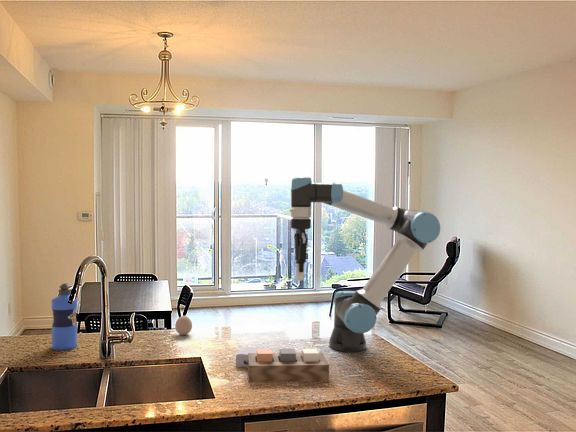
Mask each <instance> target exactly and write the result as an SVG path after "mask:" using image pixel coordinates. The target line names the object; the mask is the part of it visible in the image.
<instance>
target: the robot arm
mask: <svg viewBox="0 0 576 432" xmlns="http://www.w3.org/2000/svg"><path fill="white" fill-rule="evenodd" d="M290 191H291V193H290V197H291V199H290V209H289V212H290V213H291V214H290V217H291V219H290V228H291V229H293V230H295V233H294V236H293V237H294V254H295V255H294V256H295V258H294V259H295V264H296V276H295V277H296V281H299V282H300V281H305V263H306V262H307V249H308V241H309V239H308V233H306V230H309V229H312V225H311V224H312V220H311V219H310V218H311V217H312V203H323V204H324V205H328V206H331V207H334V208H337V209H340V210H342V211H346V212H348V213H351V214H353V215H356V216H359V217H361V218H365V219H368V220H371V221H374V222H375V223H379V224H382V225H384V226H386V228H387V230H390V231H394V232H395V233H396V235H397V236H396V237H397V240H396V242H394V244H393V245H392V247H391V248H390V250H389V251H388V252H387V254H386V255H385V257H384V258H383V260H382V261H381V262H380V264H379V265H378V267H377V268H376V270H375V271H374V272H373V273H372V274H371V277H369V279H368V280H367V282H366V283H365V285H364V286H363V288H361V289H357V290H339V291H337V292H335V294H334V295H335V296H334V314H333V317H334V318H333V319H334V320H333V321H334V322H333V329H332V332H331V335H330V337H329V343H328V345H329V348H331V349H333V350H336V351H340V352H346V353H348V352H349V353H356V352H362V351H364V350H366V349H367V348H366V347H367V340H366V337H365V333H368V332H370V331H371V330H372V329H373V328H374V327H375V325H376V323H377V315H378V314H379V313H380V311H381V309H382V301H383V300H384V298H385V297H386V296H387V294H388V293H389V291H390V290H391V288H392V287H393V286H394V285H395V283H396V282H397V280H398V279H399V277H400V276H402V275H401V274H402V273H403V272H404V271H405V269H406V267H407V266H408V265H409V264H410V263H411V261H412V259H413V258H414V257H415V255H416V253H418V252H423V250H424V249H425V248H426V247H427V245H428V244H430V243H433V242H434V241H436V240H437V239H438V238H439V235H440V232H441V223H440V221H439V219H438V217H437V216H436V215H435V214H433V213H431V212H429V211H427V210H426V211H425V210H415V209H406V208H402V207H398V206H394V207H393V206H392V207H391V206H388V205H385V204H382V203H379V202H376V201H374V200H371V199H368V198H365V197H362V196H360V195H356V194H355V193H351V192H349V191H347V190H346V191H345V190H344V187H343V183H340V182H313V181H312V178H311V177H309V176H308V177H306V176H305V177H303V176H301V177H300V176H299V177H298V176H295V177H293V178H292V179H291V188H290Z"/></svg>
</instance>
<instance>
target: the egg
mask: <svg viewBox="0 0 576 432" xmlns="http://www.w3.org/2000/svg"><path fill="white" fill-rule="evenodd" d="M174 325H175V326H174V327H175V328H174V329H175V331H176V332H177V334H179V335H181V336H186V335H189V334H190V332H192V329H193V322H192V320H191V319H190V317H188V316H187V315H181V316H179V317H178V318H177V320H176V322H175V324H174Z"/></svg>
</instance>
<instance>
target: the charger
mask: <svg viewBox="0 0 576 432" xmlns="http://www.w3.org/2000/svg"><path fill="white" fill-rule="evenodd" d="M257 349H265V348H263V347H254V346H253V347H252V346H244V347H243V348H241V350H240V351H238V353H237V354H236V355H235V365H236V366H237V367H242V366H244V367H245V368H248V353H257Z"/></svg>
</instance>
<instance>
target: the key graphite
mask: <svg viewBox="0 0 576 432" xmlns="http://www.w3.org/2000/svg"><path fill="white" fill-rule="evenodd" d="M278 353H279V362H296V353H297V352H296V350H295V348H279V350H278Z"/></svg>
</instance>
